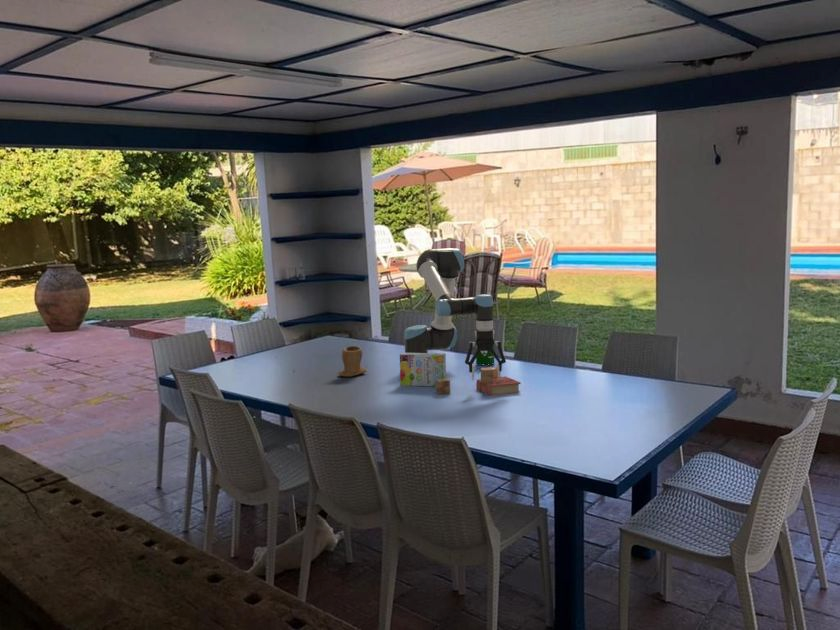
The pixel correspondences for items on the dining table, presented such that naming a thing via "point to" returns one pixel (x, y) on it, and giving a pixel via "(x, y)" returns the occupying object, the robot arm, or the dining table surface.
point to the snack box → (422, 368)
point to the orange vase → (352, 361)
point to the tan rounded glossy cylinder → (494, 371)
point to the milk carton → (485, 356)
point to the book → (499, 386)
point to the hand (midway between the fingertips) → (485, 379)
